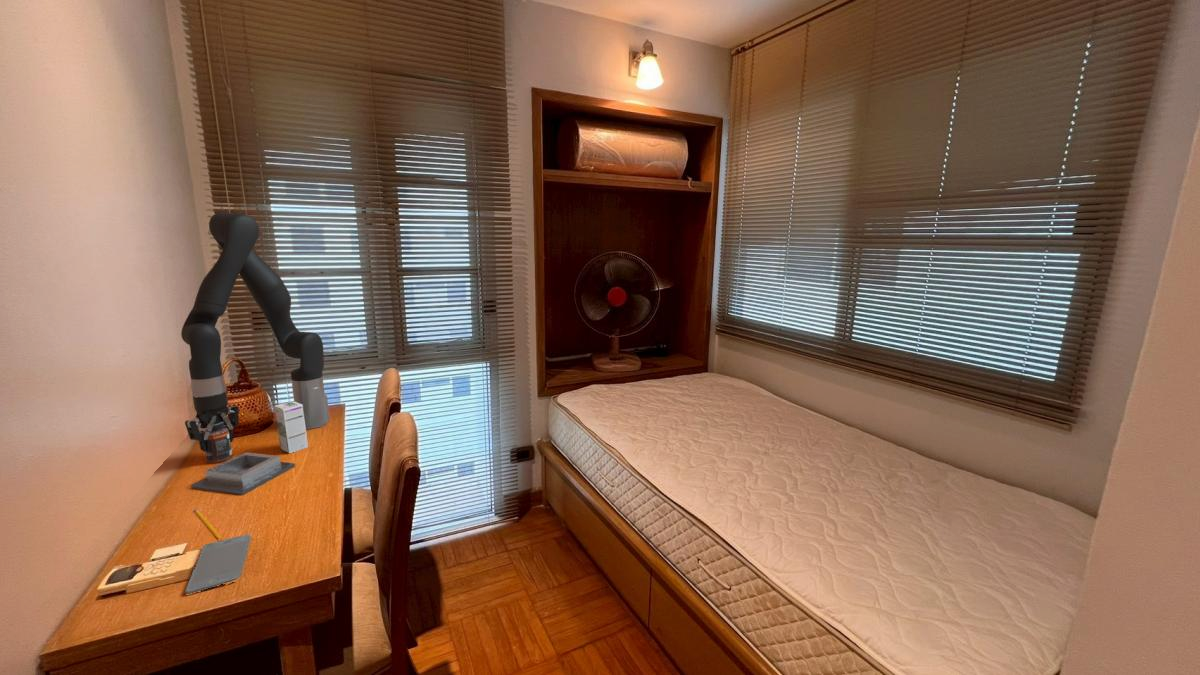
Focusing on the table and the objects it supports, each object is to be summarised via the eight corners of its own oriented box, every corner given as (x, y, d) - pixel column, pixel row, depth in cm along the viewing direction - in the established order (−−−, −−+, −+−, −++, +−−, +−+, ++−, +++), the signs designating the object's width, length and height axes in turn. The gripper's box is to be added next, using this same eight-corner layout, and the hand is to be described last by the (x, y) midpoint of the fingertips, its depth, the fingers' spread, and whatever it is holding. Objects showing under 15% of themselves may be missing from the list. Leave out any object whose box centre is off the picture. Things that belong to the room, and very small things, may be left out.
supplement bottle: (238, 455, 140) (232, 419, 138) (220, 464, 135) (214, 427, 132) (219, 454, 141) (214, 418, 139) (201, 463, 135) (195, 426, 133)
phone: (184, 599, 84) (183, 593, 84) (203, 550, 98) (202, 544, 98) (240, 583, 88) (239, 577, 88) (251, 538, 102) (251, 533, 102)
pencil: (198, 511, 112) (197, 508, 112) (223, 539, 101) (222, 537, 101) (194, 512, 111) (193, 510, 111) (218, 541, 100) (218, 539, 100)
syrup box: (309, 447, 146) (303, 403, 144) (288, 454, 141) (282, 408, 139) (299, 443, 149) (294, 400, 147) (279, 450, 144) (273, 405, 142)
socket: (248, 461, 137) (246, 448, 136) (295, 466, 134) (293, 453, 133) (191, 488, 122) (189, 473, 121) (242, 495, 118) (240, 480, 118)
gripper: (223, 383, 141) (230, 435, 145) (171, 398, 128) (181, 455, 131) (243, 385, 140) (251, 438, 143) (193, 400, 126) (203, 458, 129)
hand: (217, 446), depth 137 cm, fingers closed on supplement bottle, 6 cm apart
